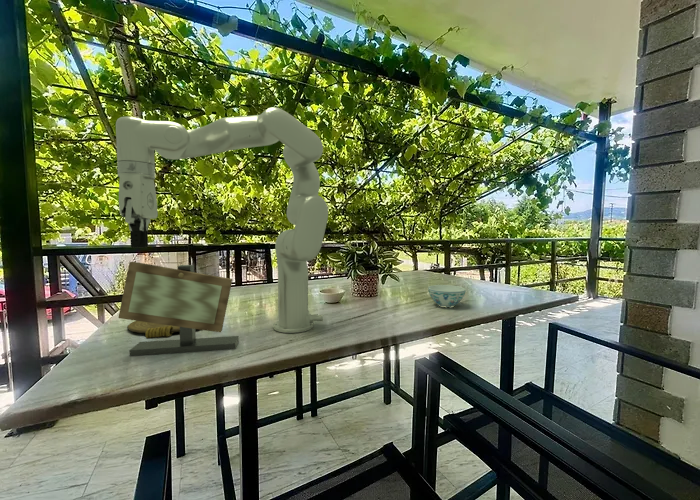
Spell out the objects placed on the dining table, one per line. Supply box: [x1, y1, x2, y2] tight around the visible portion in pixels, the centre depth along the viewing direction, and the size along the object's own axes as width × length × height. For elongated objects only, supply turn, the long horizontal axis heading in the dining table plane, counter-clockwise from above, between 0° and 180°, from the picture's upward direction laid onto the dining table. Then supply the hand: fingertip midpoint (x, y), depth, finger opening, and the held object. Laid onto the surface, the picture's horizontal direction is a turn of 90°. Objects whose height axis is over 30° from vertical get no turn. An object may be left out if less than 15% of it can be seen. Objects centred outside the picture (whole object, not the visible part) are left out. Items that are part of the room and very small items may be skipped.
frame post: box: [128, 264, 240, 357], centre depth 83 cm, size 25×6×22 cm, turn 102°
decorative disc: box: [126, 320, 180, 339], centre depth 106 cm, size 29×3×30 cm
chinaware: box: [427, 284, 467, 307], centre depth 131 cm, size 15×15×8 cm
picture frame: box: [117, 261, 233, 333], centre depth 80 cm, size 24×2×14 cm, turn 101°
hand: (139, 247), depth 78 cm, fingers closed
